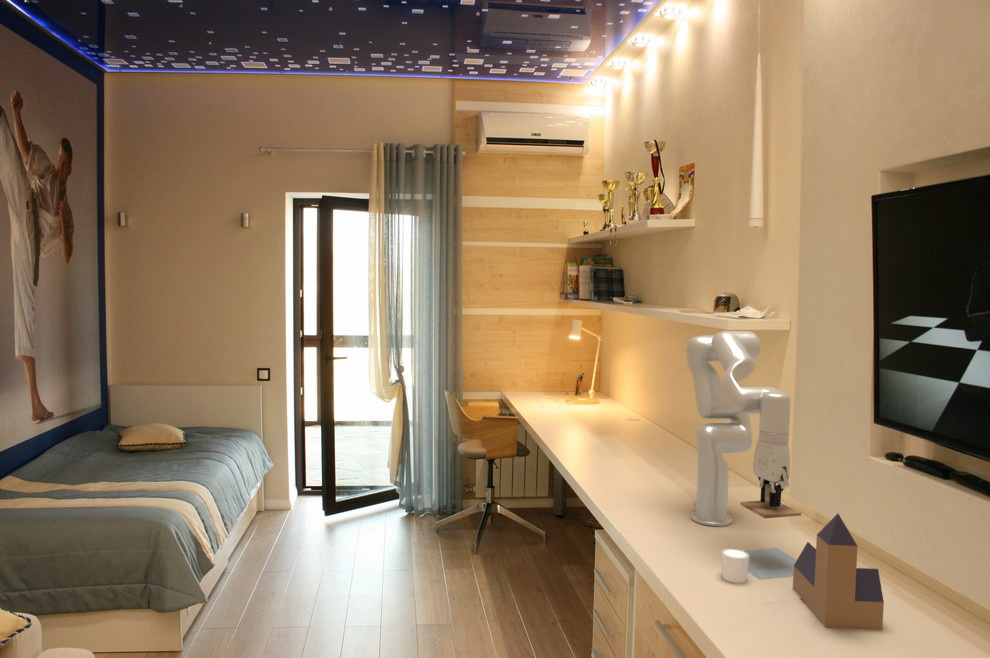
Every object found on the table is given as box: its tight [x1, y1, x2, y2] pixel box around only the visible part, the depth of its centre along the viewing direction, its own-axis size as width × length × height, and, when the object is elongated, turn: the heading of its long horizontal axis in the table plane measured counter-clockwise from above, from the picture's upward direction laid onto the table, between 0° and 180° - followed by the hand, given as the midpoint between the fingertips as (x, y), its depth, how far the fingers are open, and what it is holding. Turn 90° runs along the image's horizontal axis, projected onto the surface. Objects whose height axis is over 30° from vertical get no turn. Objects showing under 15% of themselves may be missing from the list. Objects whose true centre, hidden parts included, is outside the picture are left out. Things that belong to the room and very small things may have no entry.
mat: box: [744, 547, 797, 580], centre depth 187 cm, size 18×18×1 cm
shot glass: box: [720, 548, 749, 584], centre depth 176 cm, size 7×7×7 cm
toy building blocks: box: [792, 513, 885, 630], centre depth 161 cm, size 12×19×25 cm, turn 177°
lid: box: [739, 484, 802, 519], centre depth 186 cm, size 11×11×7 cm
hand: (770, 503), depth 186 cm, fingers closed on lid, 3 cm apart
